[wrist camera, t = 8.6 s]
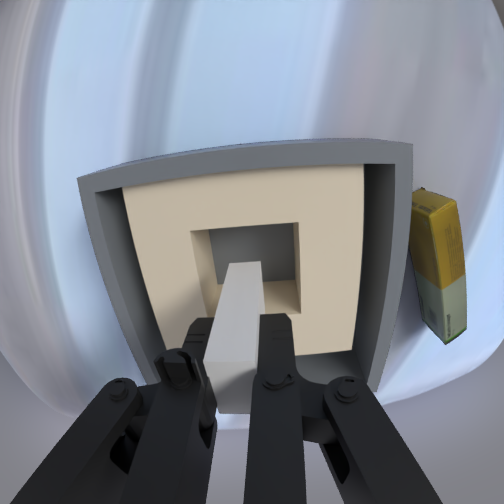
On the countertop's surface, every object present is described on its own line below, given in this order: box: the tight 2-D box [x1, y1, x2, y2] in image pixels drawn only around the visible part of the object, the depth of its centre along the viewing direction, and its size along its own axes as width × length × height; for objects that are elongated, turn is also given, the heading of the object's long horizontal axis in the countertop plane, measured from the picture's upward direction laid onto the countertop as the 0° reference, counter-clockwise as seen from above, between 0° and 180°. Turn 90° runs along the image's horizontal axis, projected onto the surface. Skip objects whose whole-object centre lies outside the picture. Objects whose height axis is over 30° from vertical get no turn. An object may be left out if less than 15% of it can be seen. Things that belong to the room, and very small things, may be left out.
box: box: [77, 139, 413, 392], centre depth 18 cm, size 17×17×6 cm
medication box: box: [408, 187, 467, 345], centre depth 18 cm, size 12×3×4 cm, turn 27°
